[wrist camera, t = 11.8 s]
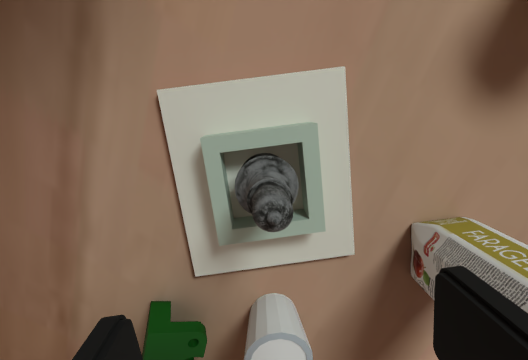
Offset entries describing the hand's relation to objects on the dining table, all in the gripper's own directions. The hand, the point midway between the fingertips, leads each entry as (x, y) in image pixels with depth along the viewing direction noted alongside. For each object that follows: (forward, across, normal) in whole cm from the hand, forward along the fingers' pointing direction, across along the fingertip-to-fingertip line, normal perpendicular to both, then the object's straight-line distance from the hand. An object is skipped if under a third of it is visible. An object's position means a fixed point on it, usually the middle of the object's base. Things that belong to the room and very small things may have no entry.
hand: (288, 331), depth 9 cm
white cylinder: (+22, +1, +18) cm, 29 cm away
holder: (+22, 0, +1) cm, 22 cm away
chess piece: (+22, 0, 0) cm, 22 cm away
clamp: (+23, +13, +19) cm, 32 cm away
